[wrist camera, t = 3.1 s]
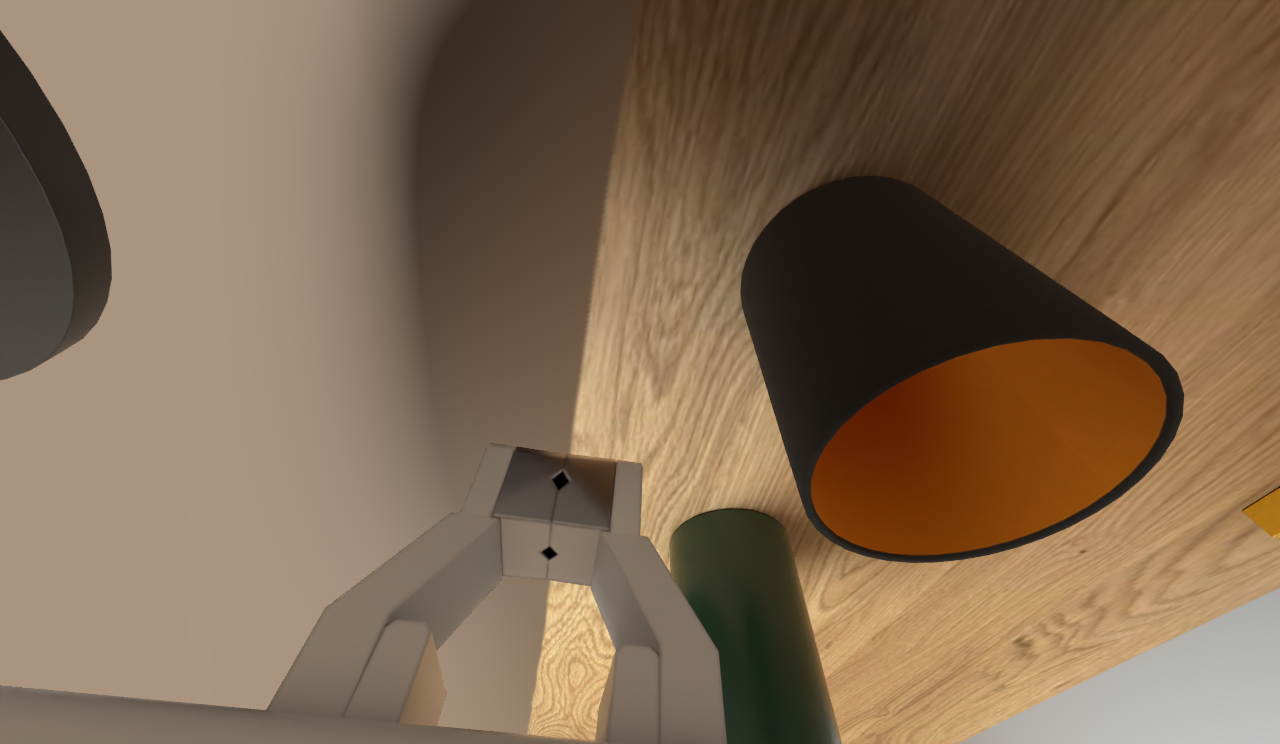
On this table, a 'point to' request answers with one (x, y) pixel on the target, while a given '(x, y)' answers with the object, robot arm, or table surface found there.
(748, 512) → the canister
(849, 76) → the table surface
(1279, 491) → the knife
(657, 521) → the table surface
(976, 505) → the mug
